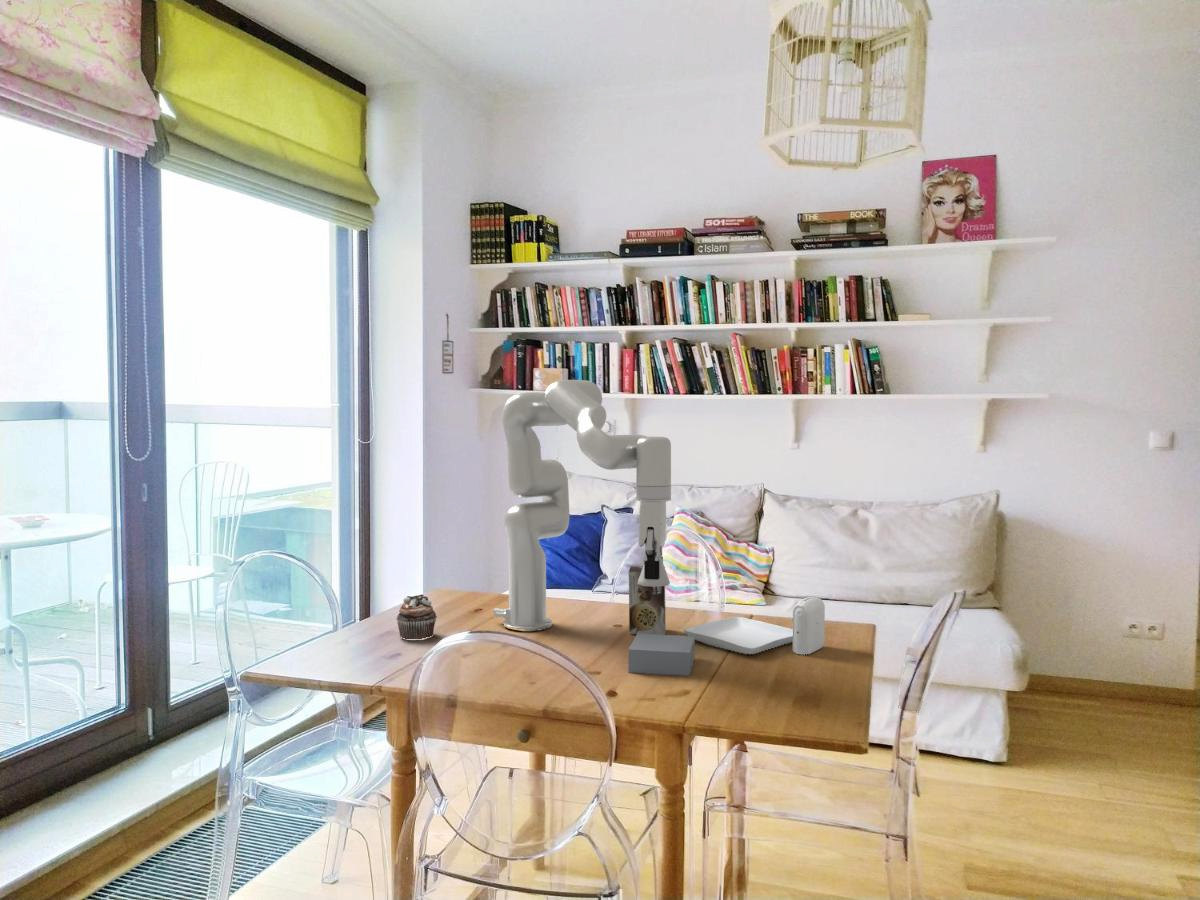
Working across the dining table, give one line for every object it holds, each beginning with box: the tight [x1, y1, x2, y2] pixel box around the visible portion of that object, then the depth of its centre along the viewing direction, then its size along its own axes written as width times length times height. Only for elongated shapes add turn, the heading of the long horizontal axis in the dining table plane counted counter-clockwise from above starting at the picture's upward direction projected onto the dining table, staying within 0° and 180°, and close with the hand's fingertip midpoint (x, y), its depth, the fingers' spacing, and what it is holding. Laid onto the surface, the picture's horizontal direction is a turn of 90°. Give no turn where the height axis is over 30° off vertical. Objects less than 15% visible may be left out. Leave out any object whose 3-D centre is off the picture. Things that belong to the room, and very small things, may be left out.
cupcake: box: [396, 594, 437, 639], centre depth 217 cm, size 10×10×10 cm
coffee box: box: [628, 565, 667, 635], centre depth 222 cm, size 9×6×16 cm
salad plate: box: [682, 616, 793, 656], centre depth 213 cm, size 21×21×3 cm
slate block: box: [627, 634, 696, 677], centre depth 194 cm, size 13×13×5 cm
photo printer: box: [792, 596, 826, 656], centre depth 206 cm, size 10×4×12 cm, turn 141°
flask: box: [637, 544, 671, 587], centre depth 193 cm, size 7×7×10 cm
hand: (653, 575), depth 193 cm, fingers closed on flask, 4 cm apart
